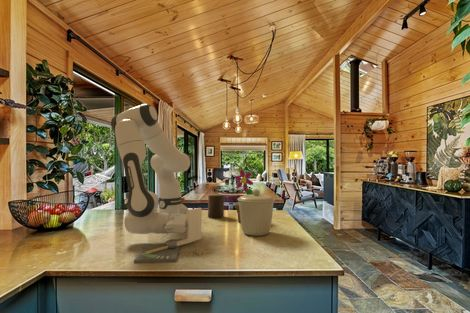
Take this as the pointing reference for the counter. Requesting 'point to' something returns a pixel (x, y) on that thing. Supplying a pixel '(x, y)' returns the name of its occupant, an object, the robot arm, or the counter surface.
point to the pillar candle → (215, 205)
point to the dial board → (157, 255)
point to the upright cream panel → (192, 230)
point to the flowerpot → (245, 187)
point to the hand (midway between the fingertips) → (197, 222)
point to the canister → (256, 213)
